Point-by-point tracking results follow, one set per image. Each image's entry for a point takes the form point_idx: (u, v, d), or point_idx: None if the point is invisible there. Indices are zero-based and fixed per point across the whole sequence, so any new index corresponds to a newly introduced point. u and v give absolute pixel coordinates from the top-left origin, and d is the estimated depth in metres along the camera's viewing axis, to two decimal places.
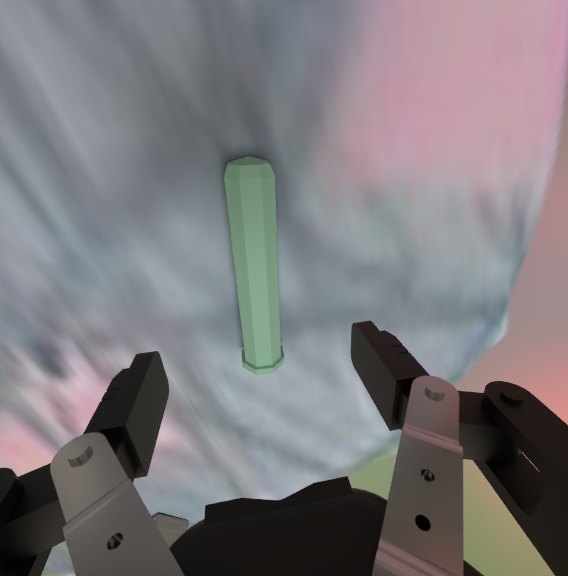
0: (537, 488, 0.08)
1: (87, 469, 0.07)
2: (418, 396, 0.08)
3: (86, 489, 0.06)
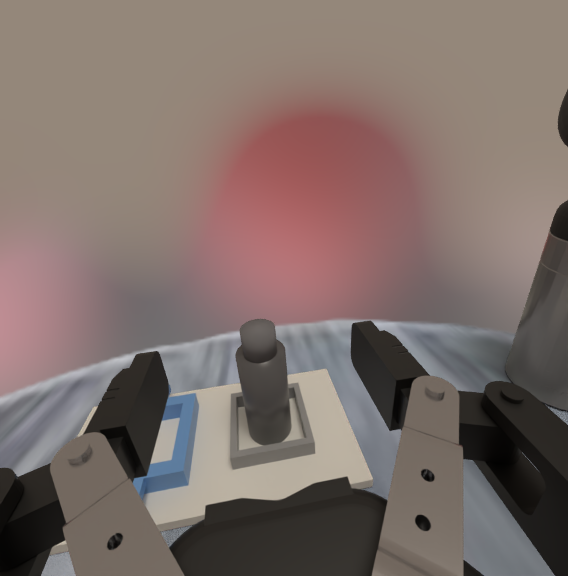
0: (537, 488, 0.08)
1: (87, 469, 0.07)
2: (418, 396, 0.08)
3: (86, 488, 0.06)
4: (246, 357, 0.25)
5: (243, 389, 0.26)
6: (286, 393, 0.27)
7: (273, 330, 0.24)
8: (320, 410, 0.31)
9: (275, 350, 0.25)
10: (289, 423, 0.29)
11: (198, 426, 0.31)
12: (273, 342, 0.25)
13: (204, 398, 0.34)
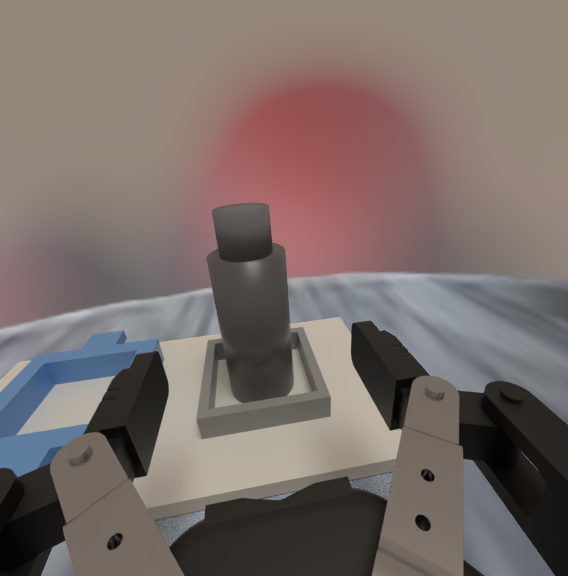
0: (537, 488, 0.08)
1: (87, 469, 0.07)
2: (418, 396, 0.08)
3: (86, 489, 0.06)
4: (222, 255, 0.16)
5: (219, 312, 0.17)
6: (287, 322, 0.18)
7: (266, 207, 0.15)
8: (335, 362, 0.22)
9: (269, 246, 0.16)
10: (291, 374, 0.19)
11: None
12: (266, 229, 0.15)
13: (172, 351, 0.25)
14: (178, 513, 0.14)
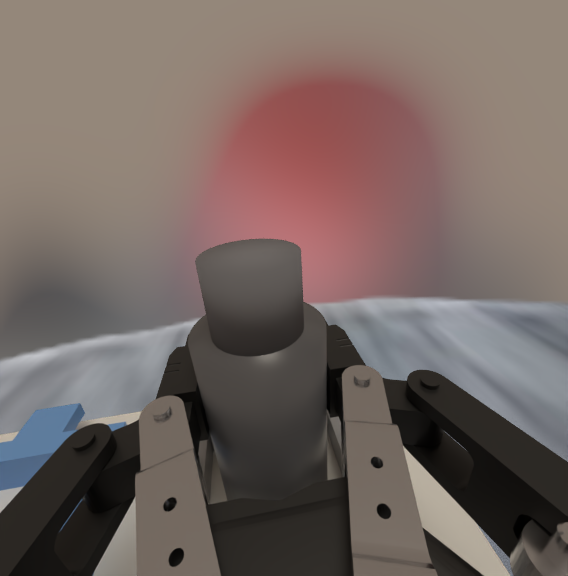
0: (461, 461, 0.08)
1: (164, 428, 0.08)
2: (345, 383, 0.09)
3: (177, 438, 0.07)
4: (215, 339, 0.09)
5: (211, 429, 0.10)
6: (325, 436, 0.10)
7: (297, 255, 0.08)
8: None
9: (300, 320, 0.09)
10: None
11: None
12: (296, 294, 0.08)
13: None
14: None
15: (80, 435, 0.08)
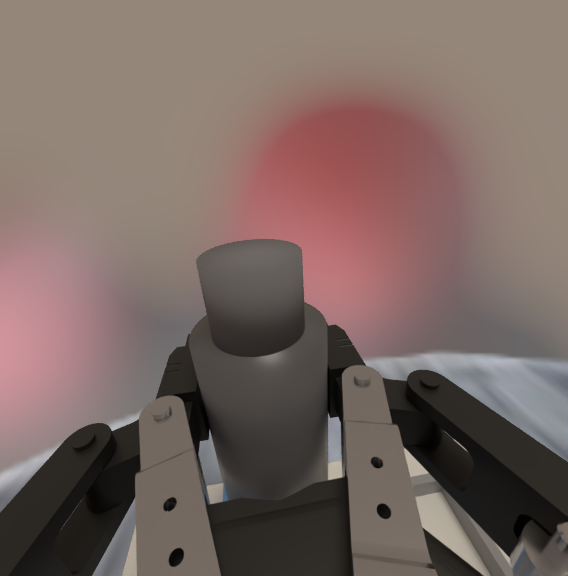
0: (461, 460, 0.08)
1: (164, 428, 0.08)
2: (345, 383, 0.09)
3: (177, 438, 0.07)
4: (216, 339, 0.09)
5: (212, 429, 0.10)
6: (325, 437, 0.10)
7: (298, 256, 0.08)
8: None
9: (301, 321, 0.09)
10: None
11: None
12: (297, 294, 0.08)
13: None
14: None
15: (80, 435, 0.08)
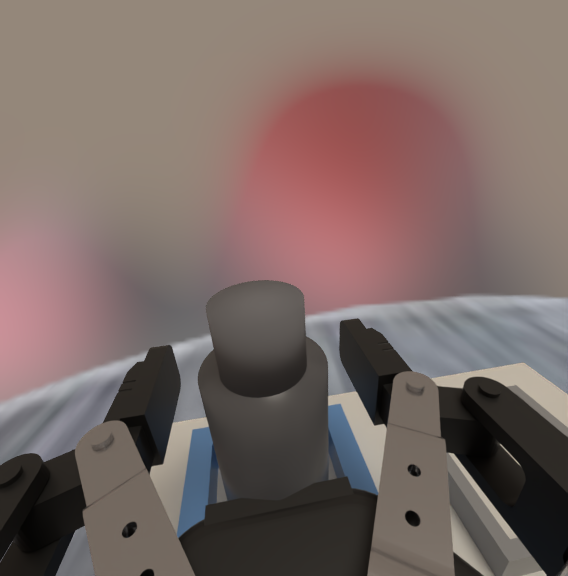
0: (516, 479, 0.08)
1: (108, 456, 0.07)
2: (398, 391, 0.08)
3: (111, 472, 0.07)
4: (224, 379, 0.09)
5: (219, 460, 0.10)
6: (326, 465, 0.11)
7: (301, 304, 0.09)
8: None
9: (304, 361, 0.09)
10: None
11: None
12: (300, 339, 0.09)
13: None
14: None
15: (3, 470, 0.07)
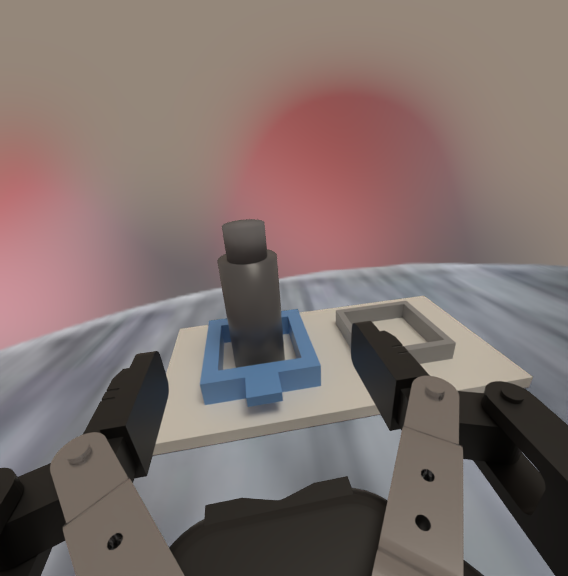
0: (537, 488, 0.08)
1: (87, 469, 0.07)
2: (418, 396, 0.08)
3: (86, 489, 0.06)
4: (229, 259, 0.21)
5: (226, 302, 0.22)
6: (278, 311, 0.23)
7: (262, 224, 0.20)
8: (437, 326, 0.29)
9: (264, 252, 0.21)
10: (282, 352, 0.25)
11: None
12: (262, 240, 0.21)
13: None
14: (370, 414, 0.21)
15: None
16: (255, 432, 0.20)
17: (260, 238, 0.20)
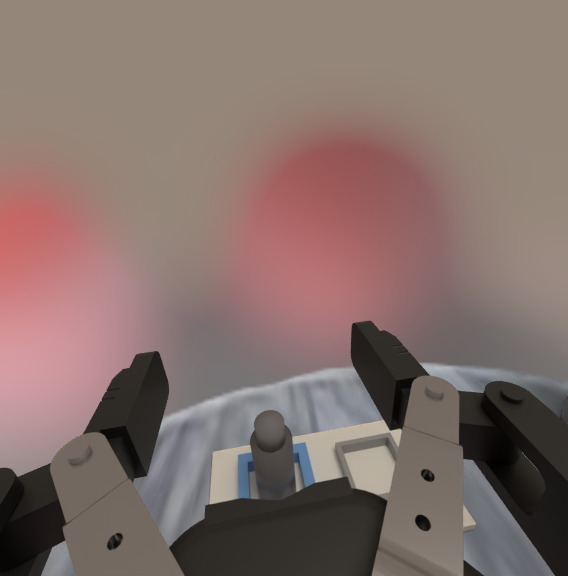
0: (537, 488, 0.08)
1: (87, 469, 0.07)
2: (418, 396, 0.08)
3: (86, 489, 0.06)
4: (259, 446, 0.30)
5: (256, 470, 0.31)
6: (293, 472, 0.32)
7: (282, 425, 0.29)
8: None
9: (284, 440, 0.30)
10: None
11: (312, 472, 0.37)
12: (282, 434, 0.29)
13: (307, 445, 0.40)
14: None
15: None
16: None
17: (281, 435, 0.29)
